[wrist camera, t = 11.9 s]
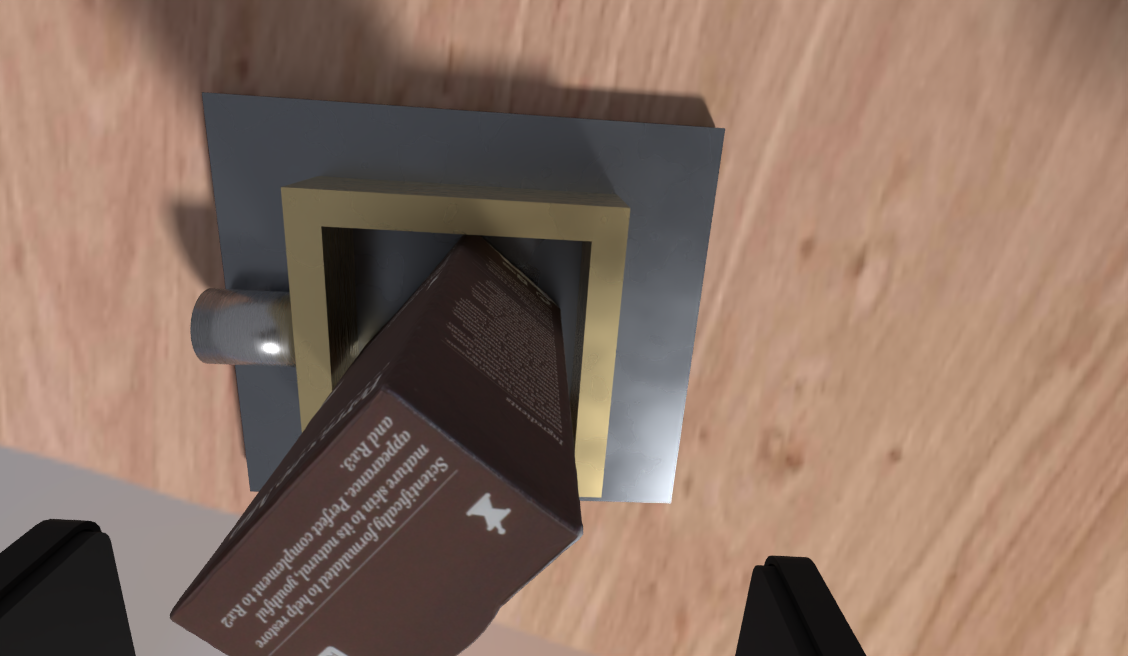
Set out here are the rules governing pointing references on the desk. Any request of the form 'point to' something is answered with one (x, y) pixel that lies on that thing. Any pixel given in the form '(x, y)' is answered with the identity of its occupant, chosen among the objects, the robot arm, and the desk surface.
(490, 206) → the square socket base
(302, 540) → the box
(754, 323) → the desk surface
